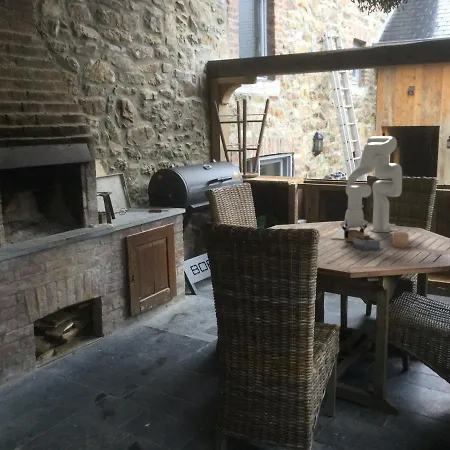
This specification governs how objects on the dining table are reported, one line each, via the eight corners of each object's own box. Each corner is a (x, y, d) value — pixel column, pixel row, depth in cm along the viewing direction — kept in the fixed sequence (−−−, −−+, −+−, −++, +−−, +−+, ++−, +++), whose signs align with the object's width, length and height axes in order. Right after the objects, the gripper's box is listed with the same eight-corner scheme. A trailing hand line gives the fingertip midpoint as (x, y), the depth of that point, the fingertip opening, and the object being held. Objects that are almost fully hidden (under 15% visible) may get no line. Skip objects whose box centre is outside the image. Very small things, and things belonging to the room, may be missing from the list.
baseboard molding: (327, 240, 307) (348, 241, 302) (328, 235, 306) (348, 236, 302) (338, 230, 335) (356, 231, 330) (338, 225, 334) (357, 226, 330)
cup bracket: (369, 243, 292) (369, 235, 291) (382, 249, 278) (383, 240, 278) (350, 245, 289) (350, 236, 288) (363, 251, 275) (363, 241, 274)
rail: (350, 237, 302) (350, 227, 301) (369, 246, 284) (369, 235, 282) (344, 238, 301) (344, 228, 300) (362, 246, 283) (363, 236, 281)
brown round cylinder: (402, 244, 290) (403, 231, 289) (411, 247, 282) (411, 234, 281) (389, 245, 288) (390, 232, 287) (398, 248, 280) (398, 235, 279)
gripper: (365, 205, 298) (364, 234, 302) (337, 207, 294) (337, 236, 297) (371, 207, 291) (371, 237, 294) (344, 209, 287) (343, 239, 290)
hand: (354, 237), depth 296 cm, fingers open, 9 cm apart
